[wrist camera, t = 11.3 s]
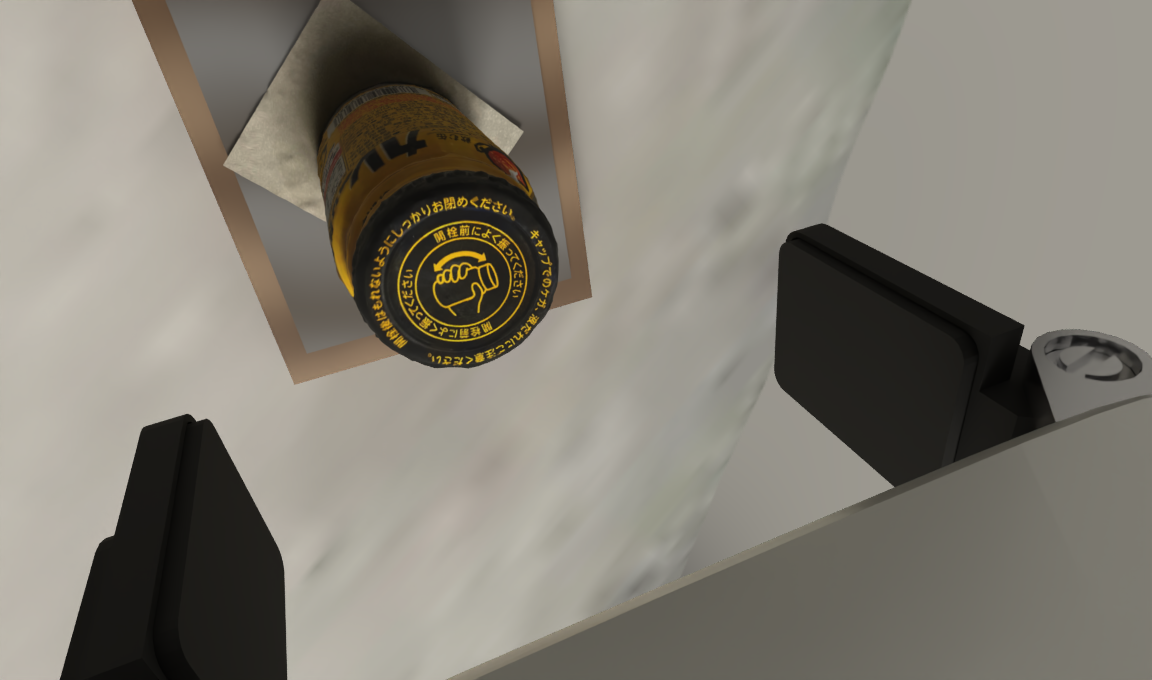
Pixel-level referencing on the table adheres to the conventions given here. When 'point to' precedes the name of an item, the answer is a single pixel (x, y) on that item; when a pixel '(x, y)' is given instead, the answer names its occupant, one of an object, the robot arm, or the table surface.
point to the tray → (301, 240)
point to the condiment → (405, 190)
